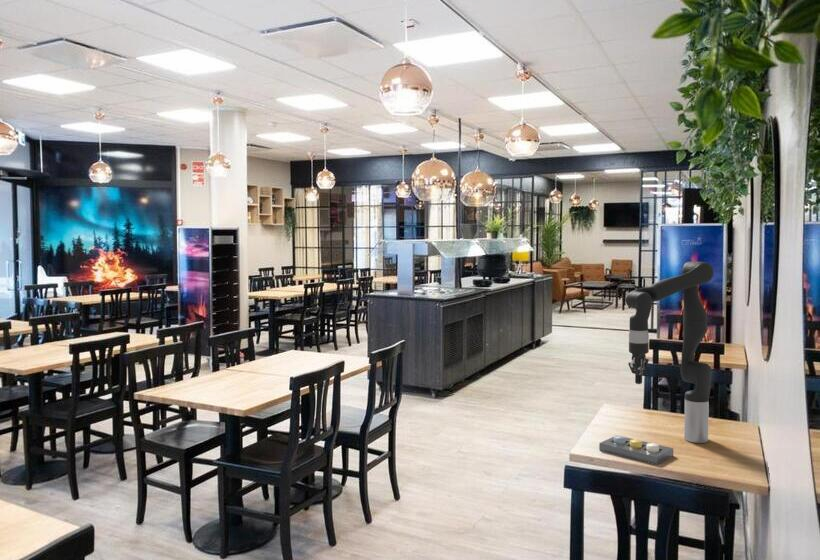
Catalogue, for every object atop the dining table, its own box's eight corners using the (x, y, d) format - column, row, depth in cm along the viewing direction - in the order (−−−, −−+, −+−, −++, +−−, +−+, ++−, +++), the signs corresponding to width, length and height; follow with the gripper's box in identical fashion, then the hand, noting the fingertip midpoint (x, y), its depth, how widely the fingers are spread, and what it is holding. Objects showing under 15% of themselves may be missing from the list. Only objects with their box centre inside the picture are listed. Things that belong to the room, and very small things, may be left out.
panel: (616, 442, 267) (616, 435, 266) (673, 455, 249) (673, 448, 249) (599, 450, 257) (599, 442, 257) (656, 464, 240) (656, 457, 239)
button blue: (617, 444, 261) (617, 434, 261) (627, 447, 258) (627, 437, 258) (611, 447, 258) (611, 437, 258) (621, 450, 255) (622, 439, 255)
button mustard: (633, 448, 256) (633, 438, 256) (644, 451, 253) (644, 441, 253) (627, 451, 253) (627, 441, 253) (638, 454, 250) (638, 443, 250)
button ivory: (649, 452, 251) (649, 442, 251) (661, 455, 248) (661, 445, 248) (644, 455, 248) (644, 445, 248) (655, 458, 245) (655, 447, 245)
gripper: (639, 344, 249) (639, 388, 250) (655, 339, 258) (655, 382, 259) (621, 342, 254) (621, 385, 255) (637, 338, 263) (637, 379, 264)
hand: (638, 383), depth 257 cm, fingers closed
